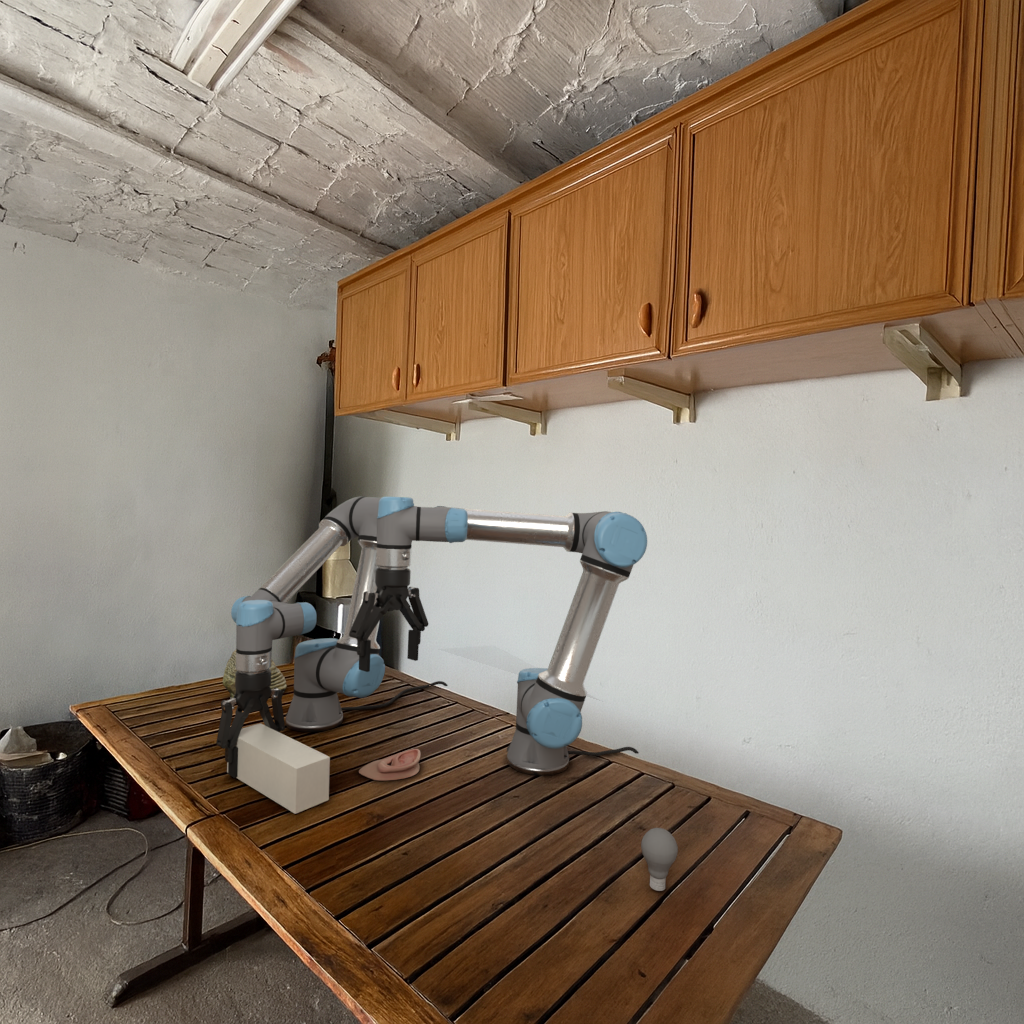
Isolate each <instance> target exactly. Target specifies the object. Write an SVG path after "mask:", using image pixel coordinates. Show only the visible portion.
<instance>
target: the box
mask: <svg viewBox="0 0 1024 1024" xmlns="http://www.w3.org/2000/svg"><path fill="white" fill-rule="evenodd" d="M235 746H236V747H238V775H237V777H236V779H238V780H239V781H240V782H242V783H243V784H246V785H247V786H249V787H250V788H252V789H254V790H255V791H257V792H258V793H260V794H262V795H263V796H265V797H266V798H268V799H270V800H271V801H273V802H275V803H276V804H278V805H280V806H281V807H283V808H285V809H286V810H288V811H290V812H291V813H293V814H294V815H295V814H299V813H301V812H303V811H305V810H308V809H310V808H313V807H316V806H318V805H321V804H323V803H325V802H328V801H329V800H330V772H331V771H330V769H331V765H330V764H331V756H328V755H327V754H325V753H323V752H321V751H318V750H317V749H315V748H313V747H311V746H308V745H307V744H304V743H302V742H300V741H298V740H296V739H294V738H293V737H289V736H287V735H285V734H284V733H282V732H280V733H279V732H277V731H275V730H273V729H271V728H269V727H267V726H265V724H264V723H257V724H253V725H249V726H246V727H242V729H241V732H240V734H239V737H238V739H237V742H236V744H235ZM226 773H228V762H226Z"/></svg>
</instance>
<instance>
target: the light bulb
mask: <svg viewBox="0 0 1024 1024" xmlns="http://www.w3.org/2000/svg"><path fill="white" fill-rule="evenodd" d="M640 848H641V853H642V856H643V858H644V860H645V862H646V865H647V869H648V873H649V887H650V888H651V889H652V890H654V891H656V892H662V891H665V889H666V881H667V877H668V875H669V871H670V868H671V867H672V866H673V864H674V862H675V861H676V860H677V857H678V853H679V847H678V843H677V841H676V839H675V837H674V836H673V834H672V833H671V832H670V831H668V830H667V829H665V828H663V827H653V828H650V829H649V830H648V831H646V833H645V834H644V835H643V837H642V839H641V844H640Z"/></svg>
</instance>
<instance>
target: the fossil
mask: <svg viewBox="0 0 1024 1024" xmlns="http://www.w3.org/2000/svg"><path fill="white" fill-rule="evenodd" d="M235 667H236V649H235V650H233V651H232V653H231V656H230V657H229V659H228V660H227V663H226V666H225V668H224V671H223V675H222V676H223V677H222V685H223V687H224V688H225V690H226V691H228V693H229V698H230V699H232V698H234V695H235V693H236V689H235V673H236V672H237V670H236V668H235ZM269 669H270V670H271V685H270V688H271V689H274V688H278V689H280V690H282V691H283V693H285V691H286V689H287V687H288V686H287V680H286V678H285V676H284V674H283V673H282V672H281V669H279V668H278V667H277V665H276V663H275V662H274V660H273V659H272V658H271V667H270V668H269Z"/></svg>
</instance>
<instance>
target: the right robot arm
mask: <svg viewBox="0 0 1024 1024" xmlns="http://www.w3.org/2000/svg"><path fill="white" fill-rule="evenodd" d="M381 497H382V498H381V499H380V500H379V507H378V516H377V547H376V565H377V566H378V568H377V569H376V571H375V584H376V586H377V590H376V592H375V593H372V592H367V591H365V592H364V594H363V602H362V604H361V607H360V609H359V611H358V614H357V616H356V619H355V621H354V623H353V626H352V628H351V630H350V633H349V636H350V637H353V638H356V639H357V655H359V670H362V671H365V672H369V671H370V652H371V640H368V638H369V636H370V634H371V633H372V631H373V630H374V628H375V627H376V625H377V624H378V622H379V620H380V621H381V619H382V617H383V616H384V615H385V614H387V612H393V611H400V613H401V614H402V616H403V618H404V619H405V621H406V622H407V624H408V625H409V627H410V628H411V629H408V635H407V657H406V658H407V659H408V660H411V661H414V662H416V661H419V647H420V645H421V640H422V639H421V638H422V636H421V635H422V632H424V631H425V629H426V628H428V627H429V621H428V618H427V615H426V612H425V610H424V606H423V604H422V600H421V598H420V597H421V596H420V589H419V588H418V587H415V586H410V585H411V575H412V574H411V573H412V571H411V569H410V568H409V567H411V565H412V547H413V546H412V543H413V541H414V542H433V543H434V542H435V543H449V544H453V543H465V541H476V542H491V543H504V544H514V545H515V544H517V545H530V546H541V547H542V546H543V547H557V548H562V549H564V550H565V551H566V552H567V553H579V554H581V556H580V559H579V563H580V566H581V568H582V572H581V576H580V577H579V581H578V584H577V587H576V589H575V592H574V595H573V597H572V601H571V603H570V605H569V606H570V607H569V609H568V611H567V615H566V617H565V619H564V623H563V625H562V628H561V631H560V633H559V636H558V640H557V643H556V645H555V646H554V647H555V648H554V650H553V653H552V656H551V659H550V661H549V663H548V667H547V668H545V667H541V668H540V667H530V668H524V669H521V670H520V671H519V672H518V676H517V681H516V683H517V693H516V695H517V696H516V712H515V713H516V714H515V715H516V717H515V731H514V733H513V736H512V739H511V742H510V744H509V745H508V746H507V747H506V763H507V765H508V767H510V768H512V769H513V770H514V771H517V772H520V773H523V774H527V775H532V776H552V775H557V774H560V773H562V772H565V771H566V770H567V769H568V768H569V766H570V756H569V755H573V756H574V755H575V756H588V757H602V756H605V755H612V754H618V753H622V752H627V751H630V752H632V753H634V754H636V755H637V754H639V753H640V752H639V751H638V749H636V748H634V747H632V746H624V747H620V748H616V749H615V748H614V749H607V750H603V751H595V752H593V751H585V750H584V751H583V750H568V747H567V746H570V745H571V744H573V743H574V742H575V741H577V738H578V737H579V735H580V734H581V732H582V729H583V715H582V709H583V707H584V705H585V701H586V698H587V695H588V692H587V689H586V687H585V685H584V683H585V680H586V677H587V675H588V672H589V670H590V666H591V664H592V661H593V658H594V655H595V653H596V650H597V647H598V644H599V641H600V639H601V636H602V634H603V631H604V628H605V625H606V623H607V619H608V616H609V613H610V611H611V608H612V605H613V602H614V600H615V597H616V594H617V591H618V590H619V586H620V584H621V583H623V582H625V581H628V580H629V578H630V575H631V573H632V571H633V568H634V565H635V564H637V563H638V562H640V560H642V559H643V557H644V555H645V554H646V550H647V547H648V534H647V532H646V530H645V528H644V527H645V526H644V525H643V524H642V522H641V521H639V519H637V518H636V517H634V516H633V515H631V514H628V513H626V512H621V511H607V510H605V511H595V512H594V511H593V512H569V513H568V514H566V515H552V514H540V513H539V514H538V513H529V512H528V513H527V512H516V511H515V512H514V511H501V510H490V509H474V508H460V507H452V506H451V507H448V506H445V505H444V506H443V505H437V506H433V507H432V506H430V507H429V506H417V505H415V502H414V499H413V498H412V497H409V496H403V497H402V496H381ZM376 600H377V602H376ZM374 602H376V603H375V605H374ZM380 607H381V608H380ZM371 611H372V612H371ZM379 623H380V622H379Z"/></svg>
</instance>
